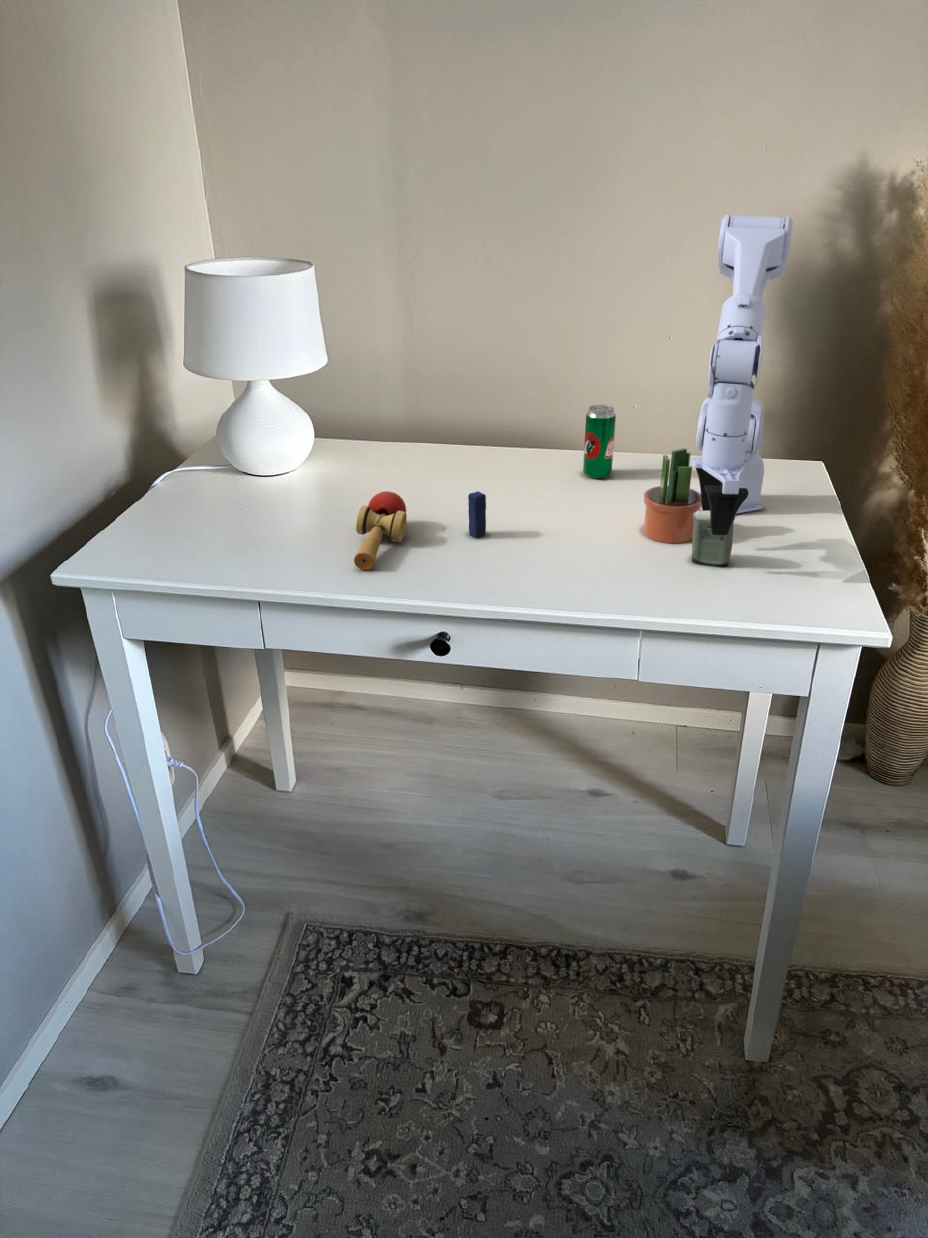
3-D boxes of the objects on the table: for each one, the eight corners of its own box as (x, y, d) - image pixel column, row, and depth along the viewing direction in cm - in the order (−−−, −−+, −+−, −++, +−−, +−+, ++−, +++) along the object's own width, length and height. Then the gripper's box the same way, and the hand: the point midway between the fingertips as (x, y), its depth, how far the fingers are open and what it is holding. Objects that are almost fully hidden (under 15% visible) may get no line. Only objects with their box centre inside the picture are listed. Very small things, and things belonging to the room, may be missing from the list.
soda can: (610, 480, 169) (615, 413, 163) (581, 478, 170) (585, 411, 164) (612, 470, 173) (617, 404, 168) (584, 468, 174) (587, 403, 168)
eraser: (487, 535, 150) (487, 494, 146) (475, 539, 149) (475, 497, 145) (478, 531, 151) (478, 489, 148) (467, 534, 150) (466, 493, 147)
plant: (679, 517, 155) (688, 436, 149) (710, 539, 148) (720, 455, 141) (630, 525, 152) (637, 443, 146) (659, 548, 145) (668, 462, 139)
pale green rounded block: (697, 572, 138) (704, 520, 134) (681, 557, 143) (687, 506, 139) (734, 568, 139) (742, 516, 135) (717, 552, 144) (724, 502, 140)
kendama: (397, 579, 140) (419, 514, 154) (386, 542, 136) (410, 479, 150) (346, 584, 141) (373, 519, 156) (334, 548, 138) (362, 485, 152)
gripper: (688, 413, 138) (678, 502, 145) (705, 448, 125) (694, 543, 132) (738, 413, 138) (726, 503, 144) (761, 448, 125) (746, 544, 132)
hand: (714, 522), depth 138 cm, fingers open, 7 cm apart
